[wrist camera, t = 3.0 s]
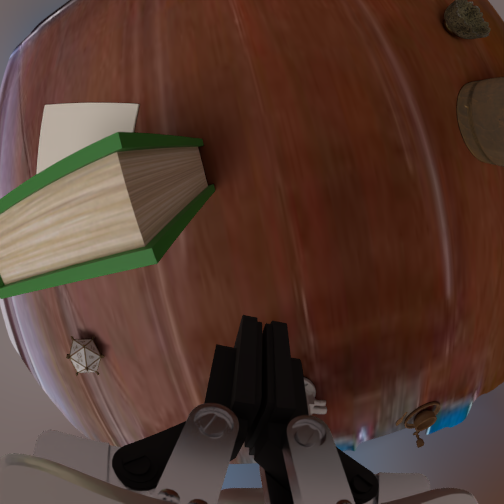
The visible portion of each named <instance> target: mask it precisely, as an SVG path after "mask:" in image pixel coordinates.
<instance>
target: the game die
mask: <svg viewBox="0 0 504 504" xmlns="http://www.w3.org/2000/svg"><path fill="white" fill-rule="evenodd" d="M71 339H72V340H73V342H72V346H71V350H70V354H67V357H66V358H67V359H69V358H70V360H71V362H72V364H73V366H74V368H75V369H76V371H77V373H76V376H77V375H78V373H92V372H96V373H97V375H99V373H98V372H97V370H98V367H99V363H100V360H101V357H102V358H104V357H105V356H104V355H102V354H101V353H99V351H98V349H97V347H96V345H95V343H94V341H93V339H94V336H93V337H92V339H74V338H73V337H72V336H71Z"/></svg>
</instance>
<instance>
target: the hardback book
mask: <svg viewBox="0 0 504 504" xmlns="http://www.w3.org/2000/svg"><path fill="white" fill-rule="evenodd" d="M203 145H204V144H203V140H202V139H199V138H191V137H182V136H173V135H162V134H149V133H134V132H116V133H114V134H112V135H110V136H107V137H105V138H103V139H101V140H99V141H97V142H95V143H93V144H91V145H89V146H87V147H85V148H83V149H81V150H79V151H77V152H75V153H73V154H71V155H69V156H67V157H66V158H64V159H62V160H60V161H58V162H57V163H55V164H53V165H51V166H50V167H48V168H46V169H45V170H43V171H41V172H40V173H38V174H37V175H35V176H33V177H32V178H30V179H29V180H27V181H26V182H24V183H23V184H21V185H20V186H18V187H17V188H15V189H14V190H12V191H11V192H10V193H8V194H7V195H6V196H4V197H3V198H1V199H0V298H1V299H3V298H7V297H11V296H15V295H20V294H24V293H28V292H33V291H37V290H41V289H46V288H50V287H54V286H59V285H63V284H68V283H72V282H76V281H81V280H85V279H90V278H94V277H99V276H103V275H108V274H112V273H117V272H121V271H126V270H130V269H135V268H139V267H144V266H149V265H153V264H157V263H158V262H159V261H160V259H161V258H162V257H163V255H164V254H165V253H166V251H167V250H168V249H169V247H170V246H171V245H172V244H173V242H174V241H175V240H176V238H177V237H178V236H179V235H180V233H181V232H182V231H183V230H184V228H185V227H186V226H187V224H188V223H189V222H190V221H191V219H192V218H193V217H194V216H195V215H196V213H197V212H198V211H199V210H200V208H201V207H202V206H203V205H204V204H205V202H206V201H207V200H208V199H209V198H210V196H211V195H212V194H213V193H214V192H215V188H214V184H213V185H209V186H208V184H207V180H206V176H205V172H204V169H203V165H202V161H201V157H200V153H199V149H198V147H200V146H203Z"/></svg>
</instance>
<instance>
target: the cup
mask: <svg viewBox="0 0 504 504" xmlns="http://www.w3.org/2000/svg"><path fill="white" fill-rule="evenodd" d="M472 4H473V2H467V0H455V1H454V2H453V3H452V4H451V5H450V6H449V7H448V8H447V9H446V10H445V13H444V18H445V19H444V20H443V26H444V28H445V29H446V31H447V32H448V33H450V34H451V35H454V36H459V37H461V38H464V39H475V38H482V37H486V36H488V35H489V34H488V33H489V32H490V28H489V27H488V26H489V24H488V23H487V22H484V19H483V18H482V15H483V13H480V8H479V7H477V6H473V5H472Z"/></svg>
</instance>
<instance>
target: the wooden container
mask: <svg viewBox="0 0 504 504" xmlns="http://www.w3.org/2000/svg"><path fill="white" fill-rule="evenodd" d="M457 117H458V123H459V127H460V131H461V134H462V137H463V139H464V141H465V143H466V145H467V147H468V149H469V150H470V151H471V153H472V154H473V155H474V156H475V157H476V158H477V159H479V160H480V161H482V162H485V163H490V164H494V165H499V166H503V167H504V77H500V78H491V79H485V80H480V81H474V82H470V83H467V84H466V85H464V86H463V87H462V89H461V91H460V93H459V96H458V101H457Z"/></svg>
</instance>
